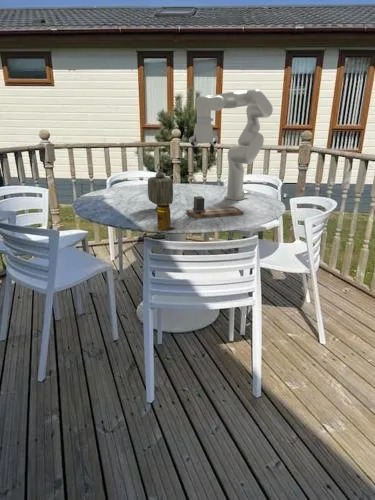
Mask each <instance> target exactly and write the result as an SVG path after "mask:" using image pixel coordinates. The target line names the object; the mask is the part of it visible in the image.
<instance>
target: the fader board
mask: <svg viewBox="0 0 375 500" xmlns="http://www.w3.org/2000/svg"><path fill="white" fill-rule="evenodd" d="M204 209H205V212H200V213H196V212H195V211H193V208H192V209H186V210H185V212H187V213H188V214H187V215H189V217H191V218H192V219H193V218H195V219H206V218H216V217H217V218H219V217H231V216H240V215H244V211H243V210H240V209H239V208H237V207H235V206H234V205H233V206H230V205H226V206H221V207H220V206H219V207H207V208H205V207H204Z"/></svg>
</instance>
